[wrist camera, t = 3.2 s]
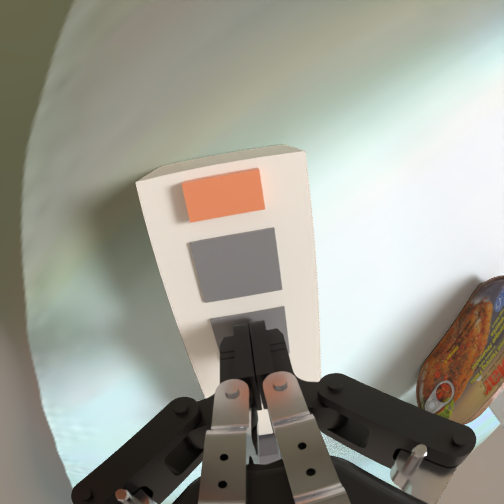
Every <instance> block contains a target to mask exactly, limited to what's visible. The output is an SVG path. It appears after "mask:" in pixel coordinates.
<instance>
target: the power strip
mask: <svg viewBox="0 0 504 504" xmlns="http://www.w3.org/2000/svg"><path fill="white" fill-rule="evenodd" d="M135 183H136V187H137V191H138V195H139V199H140V203H141V207H142V211H143V215H144V219H145V223H146V226H147V230H148V234H149V237H150V241H151V244H152V248H153V251H154V255H155V258H156V262H157V265H158V268H159V271H160V275H161V278H162V281H163V284H164V287H165V290H166V294H167V297H168V300H169V303H170V306H171V309H172V311H173V314H174V317H175V320H176V323H177V326H178V329H179V331H180V334H181V337H182V340H183V342H184V345H185V348H186V351H187V353H188V356H189V358H190V361H191V364H192V366H193V369H194V371H195V374H196V376H197V379H198V381H199V384H200V386H201V389H202V391H203V393H204V396H205V398H208V397H210V396H212V395H213V394H214V393H215V390H216V388H217V387H218V386H219V385H220V344H221V342H222V340H223V338H224V337H229V336H234V332H233V325H238V324H244V323H248V324H249V328H250V323H249V322H255V321H261V320H264V321H265V326H266V330H270V329H275V328H277V329H278V330H279V331H280V332H282V333H283V335H284V339H285V343H286V346H287V350H288V354H289V358H290V361H291V365H292V369H293V372H294V374H295V375H296V376H297V377H298V378H299V379H301V380H304V381H309V382H319V381H320V380H321V359H320V325H319V302H318V284H317V268H316V254H315V241H314V229H313V218H312V207H311V197H310V188H309V179H308V170H307V161H306V153H305V151H303V150H300V149H297V148H294V147H291V146H287V145H284V144H281V145H274V146H267V147H260V148H253V149H247V150H241V151H235V152H229V153H224V154H218V155H213V156H207V157H202V158H197V159H192V160H188V161H183V162H178V163H174V164H169V165H165V166H160V167H159V168H157V169H155V170H154V171H152V172H151V173H149V174H147V175H146V176H144V177H143V178H141V179H140V180H138V181H136V182H135ZM250 333H251V331H250ZM260 396H261V395H260ZM261 404H262V410H259V411H257V412H258V425H259V435H266V434H272V433H273V431H272V427H271V423H270V418H269V414H268V409H264V408H263V403H262V399H261Z"/></svg>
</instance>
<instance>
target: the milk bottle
mask: <svg viewBox="0 0 504 504" xmlns="http://www.w3.org/2000/svg"><path fill="white" fill-rule="evenodd" d="M489 408H490V409H491V411H492V412H493V413H494V415H495V416H496V418H497V419H498V421H499V422H500V423H501V425H502V426H503V428H504V389H503V390H502V391H501V392H500V394H499V395H498V396H497V397H496V398H495V400H494V401H493V402H492V403H491V404H490V405H489Z"/></svg>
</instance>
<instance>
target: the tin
mask: <svg viewBox="0 0 504 504" xmlns="http://www.w3.org/2000/svg"><path fill="white" fill-rule="evenodd" d="M503 389H504V276H497V277H494V278H491V279H489V280H487V281H486V282H484V283H483V284H482V285H480V286H479V287H478V288H477V289H476V290H475V291H474V293H473V294H472V295H471V297H470V298H469V300H468V301H467V303H466V305H465V306H464V308H463V309H462V311H461V312H460V314H459V315H458V317H457V318H456V320H455V321H454V323H453V324H452V326H451V327H450V329H449V330H448V331H447V333H446V334H445V336H444V337H443V338H442V340H441V341H440V342H439V344H438V345H437V346H436V347H435V349H434V350H433V351H432V353H431V354H430V355H429V357H428V358H427V359H426V361H425V362H424V364H423V366H422V368H421V371H420V373H419V376H418V380H417V386H416V398H417V403H418V407H419V408H421V409H424V410H426V411H429V412H431V413H434V414H436V415H439V416H441V417H444V418H447V419H449V420H452V421H455V422H457V423H460V424H463V425H464V424H467V423H469V422H471V421H473V420H475V419H476V418H477V417H479V416H480V415H481V414H482V413H483V412H484V411H485V410H486V409H487V407H488V406H489V405H490V404H491V403H492V402H493V401H494V400H495V398H496V397H497V396H498V395H499V394H500V392H501V391H502V390H503Z"/></svg>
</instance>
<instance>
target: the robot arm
mask: <svg viewBox="0 0 504 504" xmlns="http://www.w3.org/2000/svg"><path fill="white" fill-rule="evenodd" d="M249 323H250V328H249V324H248V323H244V324H238V325H233V332H234V336H229V337H224V338H223V340H222V342H221V344H220V385H219V386H218V387H217V388H216V390H215V393H214V394H213V395H212V396H210V397H208V398H206V399H204V400H201V401H198V402H196V401H195V400H194V399H192V398H189V397H180V398H177V399H174V400H173V401H171V402H170V403H169V404H168V405H167V406H166V407H165V408H164V409H163V410H162V411H160V412H159V413H158V414H157V415H156V416H155V417H154V418H153V419H152V420H151V421H150V422H148V423H147V424H146V425H145V426H144V427H143V428H142V429H141V430H140V431H139V432H137V433H136V434H135V435H134V436H133V437H132V438H131V439H130V440H128V441H127V442H126V443H125V444H124V445H123V446H122V447H120V448H119V449H118V450H117V451H116V452H115V453H114V454H112V455H111V456H110V457H109V458H108V459H107V460H105V461H104V462H103V463H102V464H101V465H100V466H98V467H97V468H96V469H95V470H94V471H92V472H91V473H90V474H89V475H88V476H86V477H85V478H84V479H83V480H82V481H80V482H79V483H78V484H77V485H76V486H75V487H74V488H73V490H72V494H71V498H72V502H73V504H161V503H162V502H163V501H164V500H165V499H166V498H167V497H168V496H169V495H170V494H171V493H172V492H173V491H174V490H175V489H176V488H177V487H178V486H179V485H180V484H181V483H182V482H183V481H184V480H185V479H186V478H187V477H188V476H189V475H190V473H191V472H192V471H193V470H194V469H195V468H196V467H197V466H198V465H199V464H200V463H201V462H202V470H201V476H200V477H199V478H197V479H196V480H194V481H193V482H192V483H191V484H190V485H189V486H188V487H187V488H186V489H185V490H184V491H183V492H182V493H181V495H180V496H179V497H178V498H177V499H176V500H175V501H174V502H173V503H172V504H436V503H437V502H438V500H439V498H440V497H441V495H442V493H443V492H444V490H445V488H446V486H447V485H448V482H449V481H450V479H451V477H452V475H453V474H454V472H455V471H456V470H457V468H458V467H459V466H460V465H461V464H462V462H463V461H464V460H465V459H466V458H467V456H468V455H469V454H470V452H471V451H472V450H473V448H474V447H475V444H476V436H475V433H474V432H473V430H472V429H471V428H469V427H468V426H465V425H463V424H460V423H457V422H455V421H452V420H449V419H447V418H444V417H441V416H439V415H436V414H434V413H431V412H429V411H426V410H424V409H421V408H419V407H416V406H414V405H412V404H409V403H407V402H404V401H402V400H400V399H397V398H395V397H393V396H390V395H388V394H386V393H383V392H381V391H379V390H377V389H374V388H372V387H370V386H368V385H365V384H363V383H361V382H359V381H357V380H355V379H352V378H350V377H348V376H346V375H344V374H340V373H333V374H328V375H326V376H324V377H323V378H322V379H321V380H320V381H319V382H309V381H304V380H301V379H299V378H298V377H297V376H296V375H295V374H294V372H293V369H292V365H291V361H290V358H289V354H288V350H287V346H286V343H285V339H284V335H283V333H282V332H280V331H279V330H278V329H277V328H275V329H270V330H266V326H265V321H264V320H261V321H255V322H249ZM250 331H251V333H250ZM260 395H261V396H260ZM261 399H262V403H263V408H264V409H268V414H269V418H270V423H271V427H272V431H273V435H274V438H275V442H276V446H277V450H278V453H279V457H280V460H277V461H275V462H272V463H270V464H265V465H263V464H260V458H259V425H258V412H257V411H259V410H262V404H261ZM320 431H321V432H322V433H324V434H326V435H327V436H329V437H331V438H333V439H334V440H336V441H338V442H340V443H342V444H343V445H345V446H347V447H349V448H351V449H353V450H354V451H356V452H358V453H360V454H362V455H364V456H366V457H368V458H370V459H372V460H374V461H376V462H378V463H380V464H382V465H384V466H386V467H388V468H390V469H391V471H390V477H391V479H392V481H393V482H394V483H395V484H396V485H398V486H399V487H400V488H401V489H402V490H403V491H402V490H400V489H398V488H396V487H394V486H392V485H390V484H388V483H386V482H385V481H383V480H381V479H379V478H377V477H375V476H374V475H372V474H370V473H368V472H367V471H365V470H363V469H361V468H360V467H358V466H356V465H355V464H353V463H351V462H349V461H347V460H345V459H343V458H339V457H335V456H330V455H329V453H328V450H327V448H326V445H325V443H324V440H323V437H322V435H321V432H320Z"/></svg>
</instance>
